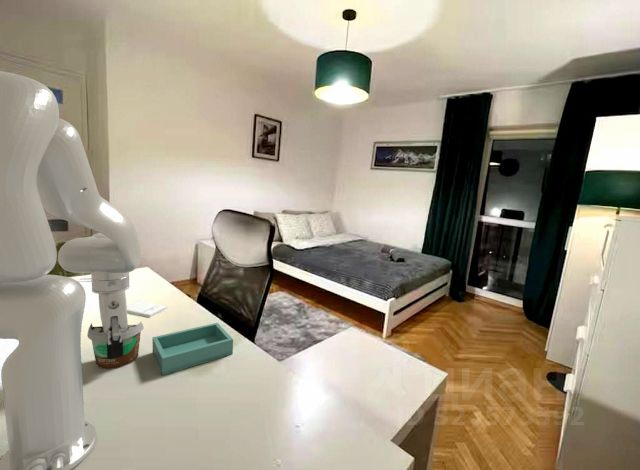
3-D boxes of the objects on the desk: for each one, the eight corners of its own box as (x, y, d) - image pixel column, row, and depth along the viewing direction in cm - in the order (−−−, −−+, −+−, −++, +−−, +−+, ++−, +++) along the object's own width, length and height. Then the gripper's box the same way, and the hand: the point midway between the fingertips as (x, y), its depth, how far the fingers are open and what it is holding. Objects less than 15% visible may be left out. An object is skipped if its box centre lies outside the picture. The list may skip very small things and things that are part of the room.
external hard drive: (139, 304, 114) (167, 310, 111) (120, 312, 106) (150, 319, 103) (139, 300, 114) (167, 305, 111) (120, 308, 106) (150, 314, 103)
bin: (232, 354, 85) (233, 339, 85) (162, 375, 74) (162, 358, 73) (217, 336, 94) (217, 322, 94) (152, 352, 83) (152, 337, 82)
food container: (79, 374, 72) (76, 335, 70) (90, 359, 78) (89, 323, 76) (137, 369, 75) (136, 332, 74) (144, 355, 81) (143, 321, 80)
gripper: (134, 291, 69) (136, 362, 72) (124, 271, 82) (126, 331, 85) (93, 297, 64) (97, 372, 67) (90, 275, 78) (93, 338, 81)
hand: (113, 349), depth 76 cm, fingers closed on food container, 7 cm apart
